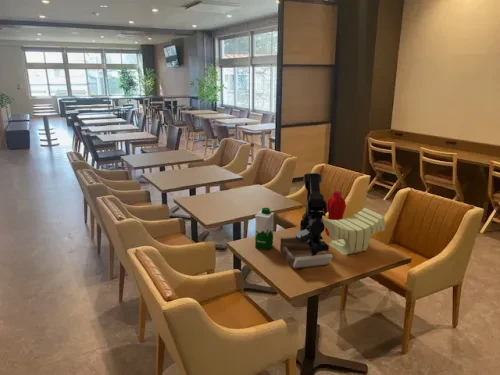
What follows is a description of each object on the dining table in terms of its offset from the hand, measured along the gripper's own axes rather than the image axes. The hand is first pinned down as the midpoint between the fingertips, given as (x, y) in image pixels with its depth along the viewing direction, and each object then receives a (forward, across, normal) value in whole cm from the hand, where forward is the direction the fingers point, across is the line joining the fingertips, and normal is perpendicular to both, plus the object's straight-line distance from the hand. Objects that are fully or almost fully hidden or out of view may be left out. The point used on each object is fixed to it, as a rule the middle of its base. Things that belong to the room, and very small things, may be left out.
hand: (313, 257), depth 171 cm
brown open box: (+6, -11, 0) cm, 13 cm away
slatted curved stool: (+6, -17, +27) cm, 33 cm away
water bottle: (+6, -35, +28) cm, 45 cm away
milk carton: (+7, -29, -15) cm, 33 cm away
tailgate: (+4, -3, 0) cm, 5 cm away
